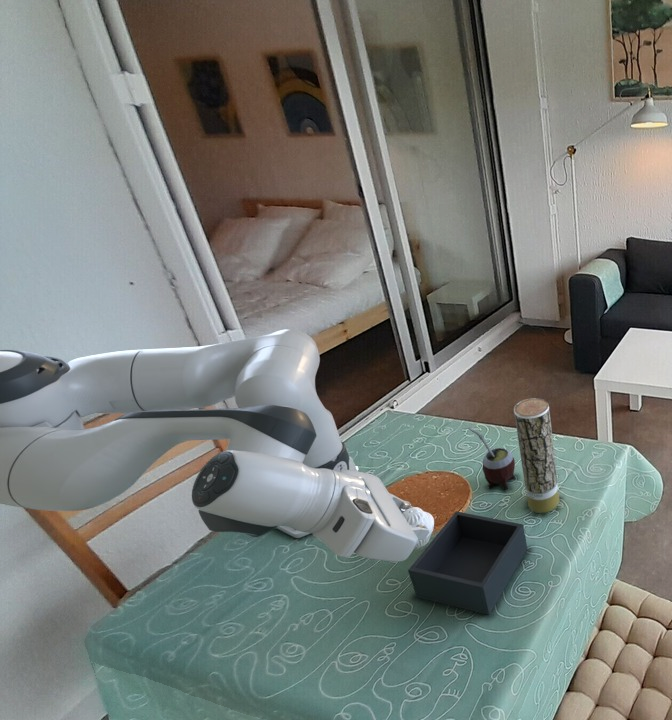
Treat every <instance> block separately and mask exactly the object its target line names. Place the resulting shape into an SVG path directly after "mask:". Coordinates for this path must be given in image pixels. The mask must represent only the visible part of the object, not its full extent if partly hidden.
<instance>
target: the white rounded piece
mask: <svg viewBox="0 0 672 720" xmlns="http://www.w3.org/2000/svg"><path fill="white" fill-rule="evenodd" d="M403 516H404V517H405V519H406V520H407V522H408V524H409V525H411V526H412V527H416V526H417V525H418V524H420V525H425V526H426V527H427V529H428V530H429V534H428V535H427V537H426V539H424V540H418V543H417V544H416V546H415V548H414V549H415V550H417V549H421V548H423V547H425V546H426V545H427V544H429V542H430V539H431V537H432V534H433V533H434V532H433V531H434V530H435V529H434V527H435V519H434V516H433V514H431V513H429V512H428V511H424V510H423V509H422V508H420V507H418V506H412V508H409V509H406V511H404V512H403ZM414 549H413V550H414Z"/></svg>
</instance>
